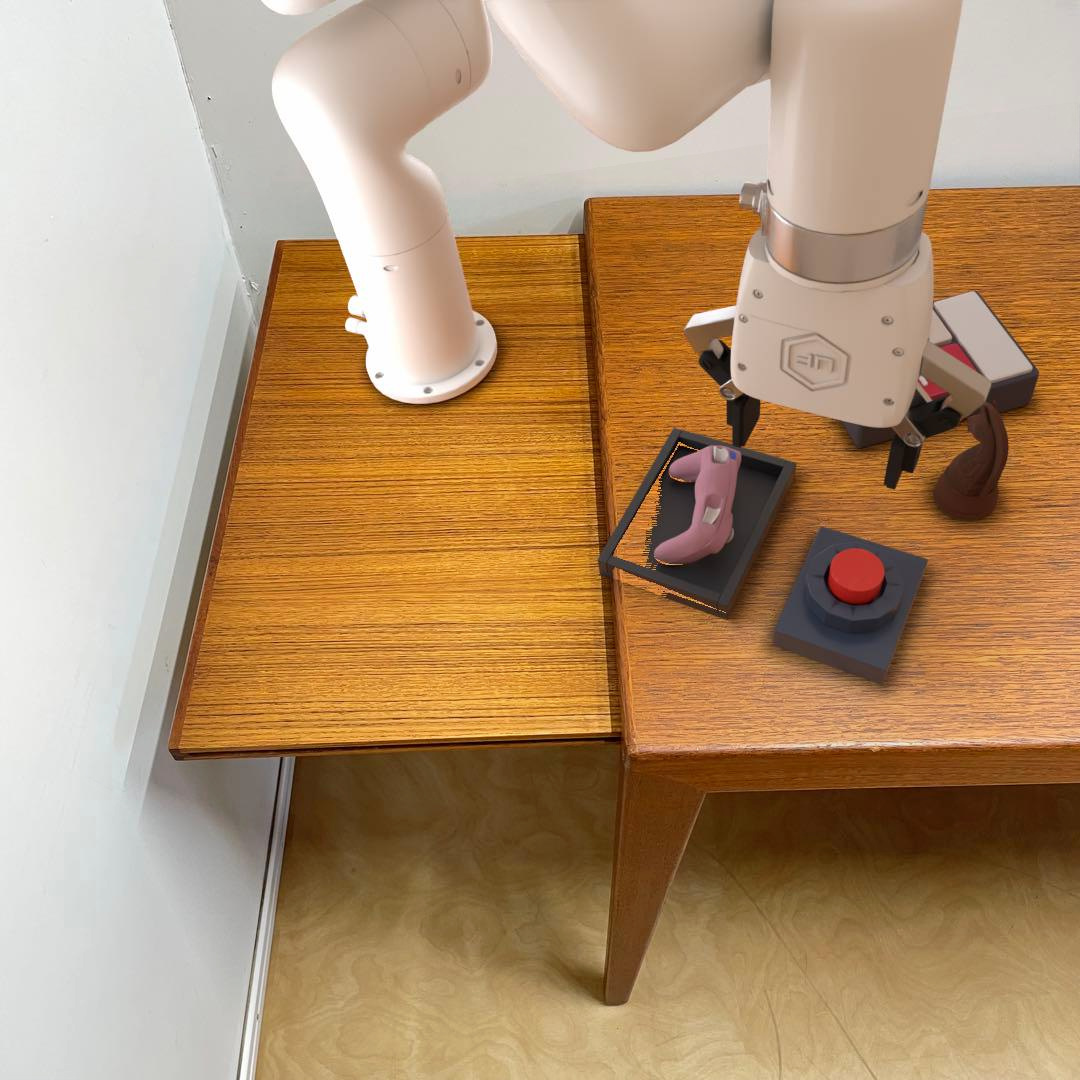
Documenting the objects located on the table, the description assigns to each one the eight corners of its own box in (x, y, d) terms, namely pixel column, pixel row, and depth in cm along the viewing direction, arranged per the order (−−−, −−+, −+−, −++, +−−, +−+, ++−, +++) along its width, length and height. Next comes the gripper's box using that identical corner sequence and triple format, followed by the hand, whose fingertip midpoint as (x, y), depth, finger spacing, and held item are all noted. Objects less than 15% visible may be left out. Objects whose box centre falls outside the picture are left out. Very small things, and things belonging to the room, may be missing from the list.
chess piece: (979, 470, 78) (1010, 380, 70) (1009, 519, 75) (1045, 431, 67) (923, 483, 78) (947, 394, 70) (950, 532, 75) (980, 446, 67)
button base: (771, 645, 72) (775, 616, 69) (817, 542, 77) (822, 510, 73) (882, 685, 69) (891, 657, 66) (923, 575, 74) (933, 544, 70)
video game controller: (701, 585, 77) (745, 541, 71) (647, 564, 76) (687, 519, 70) (715, 486, 82) (756, 438, 76) (665, 466, 82) (703, 417, 76)
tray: (599, 574, 77) (597, 559, 76) (674, 443, 84) (673, 427, 83) (727, 620, 74) (727, 605, 72) (794, 479, 80) (796, 462, 79)
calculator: (808, 330, 85) (977, 281, 85) (806, 366, 88) (969, 319, 88) (860, 420, 78) (1044, 366, 78) (856, 455, 82) (1032, 404, 81)
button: (820, 594, 70) (823, 580, 68) (837, 555, 71) (840, 541, 70) (872, 611, 68) (875, 598, 67) (887, 571, 70) (891, 557, 69)
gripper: (652, 235, 51) (668, 457, 64) (1009, 303, 44) (943, 536, 57) (708, 153, 54) (713, 380, 68) (1047, 204, 47) (977, 445, 61)
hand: (818, 451), depth 62 cm, fingers open, 9 cm apart
